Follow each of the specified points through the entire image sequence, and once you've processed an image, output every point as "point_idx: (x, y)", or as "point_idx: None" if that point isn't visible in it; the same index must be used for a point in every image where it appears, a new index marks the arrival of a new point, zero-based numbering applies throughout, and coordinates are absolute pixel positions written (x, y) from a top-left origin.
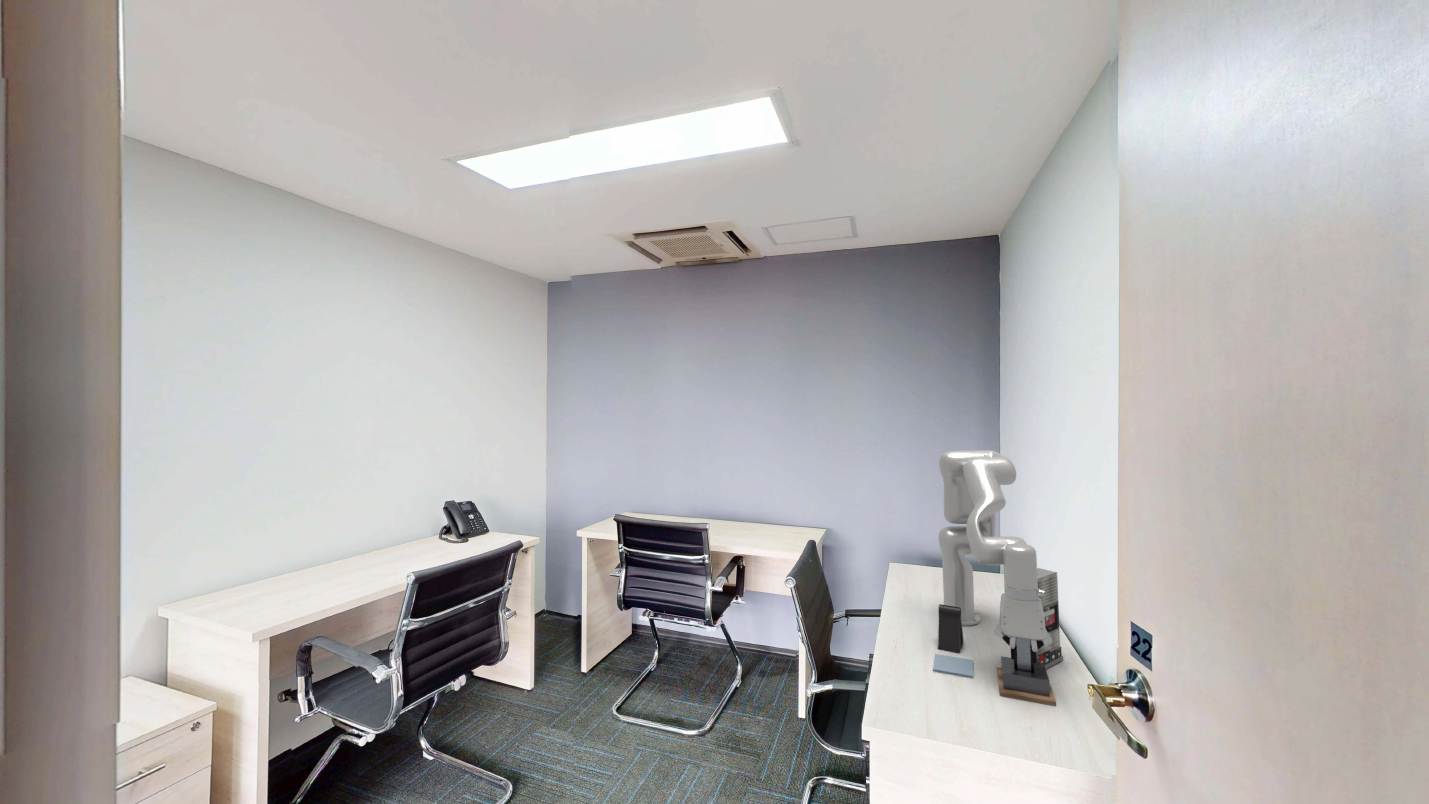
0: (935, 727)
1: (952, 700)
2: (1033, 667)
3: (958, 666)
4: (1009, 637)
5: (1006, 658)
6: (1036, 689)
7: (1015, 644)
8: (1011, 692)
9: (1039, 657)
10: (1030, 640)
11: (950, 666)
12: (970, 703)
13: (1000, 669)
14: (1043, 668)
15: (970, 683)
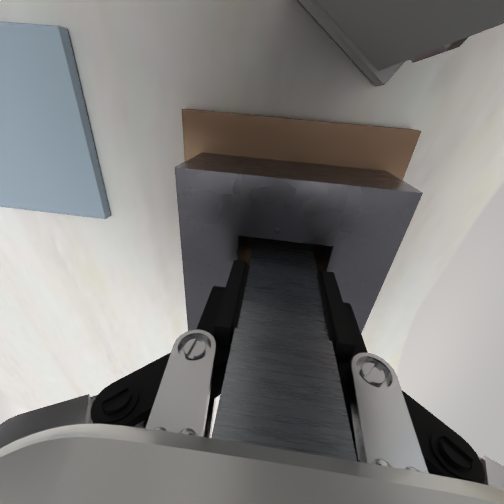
0: None
1: (95, 337)
2: (329, 265)
3: (31, 147)
4: (162, 399)
5: (205, 193)
6: None
7: (222, 377)
8: None
9: (455, 43)
10: (354, 429)
11: (6, 158)
12: (133, 341)
13: (197, 135)
14: (379, 266)
15: (111, 251)
